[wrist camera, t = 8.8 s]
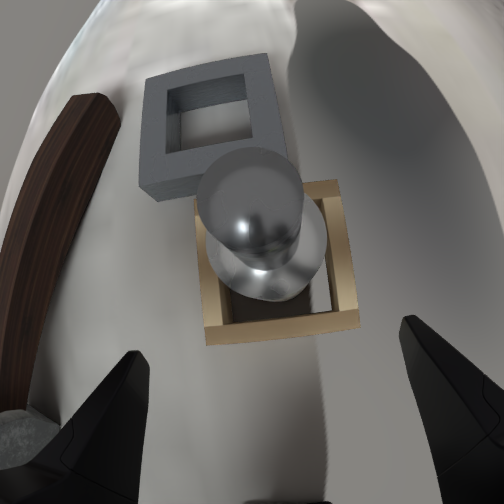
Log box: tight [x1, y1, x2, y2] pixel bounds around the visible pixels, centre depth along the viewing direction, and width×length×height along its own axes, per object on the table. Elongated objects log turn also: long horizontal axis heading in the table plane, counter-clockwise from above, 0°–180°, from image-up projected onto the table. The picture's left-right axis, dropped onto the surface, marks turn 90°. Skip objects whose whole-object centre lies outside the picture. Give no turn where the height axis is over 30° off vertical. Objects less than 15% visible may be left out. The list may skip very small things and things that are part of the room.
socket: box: [139, 53, 288, 202], centre depth 20 cm, size 9×9×3 cm
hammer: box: [0, 93, 121, 470], centre depth 17 cm, size 5×11×30 cm
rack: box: [194, 179, 360, 346], centre depth 17 cm, size 8×8×3 cm
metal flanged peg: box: [197, 147, 327, 302], centre depth 13 cm, size 4×4×13 cm
